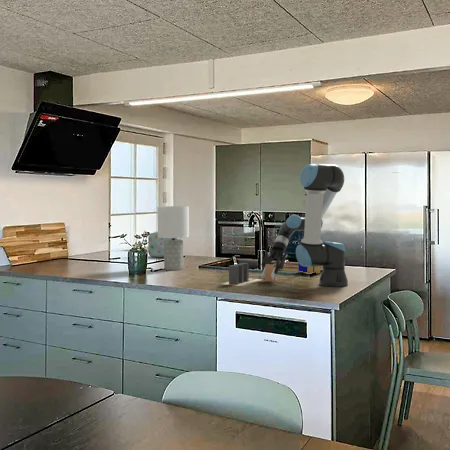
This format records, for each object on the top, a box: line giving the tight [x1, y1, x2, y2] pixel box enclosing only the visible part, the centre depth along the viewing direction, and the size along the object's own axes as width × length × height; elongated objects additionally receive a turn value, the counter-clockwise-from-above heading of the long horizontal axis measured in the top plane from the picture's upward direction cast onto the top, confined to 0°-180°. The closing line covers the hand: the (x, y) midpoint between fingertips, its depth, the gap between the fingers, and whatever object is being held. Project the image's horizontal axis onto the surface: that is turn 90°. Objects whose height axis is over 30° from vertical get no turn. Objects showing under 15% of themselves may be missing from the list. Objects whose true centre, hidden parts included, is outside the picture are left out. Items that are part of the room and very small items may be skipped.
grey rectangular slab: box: [233, 263, 244, 283], centre depth 290 cm, size 2×5×10 cm, turn 58°
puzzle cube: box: [298, 263, 321, 275], centre depth 328 cm, size 10×10×10 cm
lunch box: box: [147, 231, 182, 259], centre depth 419 cm, size 27×10×21 cm, turn 74°
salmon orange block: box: [265, 263, 276, 283], centre depth 293 cm, size 2×5×10 cm, turn 59°
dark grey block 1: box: [228, 264, 239, 285], centre depth 285 cm, size 2×5×10 cm, turn 59°
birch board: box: [220, 278, 264, 287], centre depth 293 cm, size 14×25×1 cm, turn 149°
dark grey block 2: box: [238, 262, 250, 282], centre depth 294 cm, size 2×5×10 cm, turn 58°
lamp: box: [156, 205, 190, 271], centre depth 349 cm, size 21×21×42 cm
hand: (267, 277), depth 290 cm, fingers closed on salmon orange block, 5 cm apart
